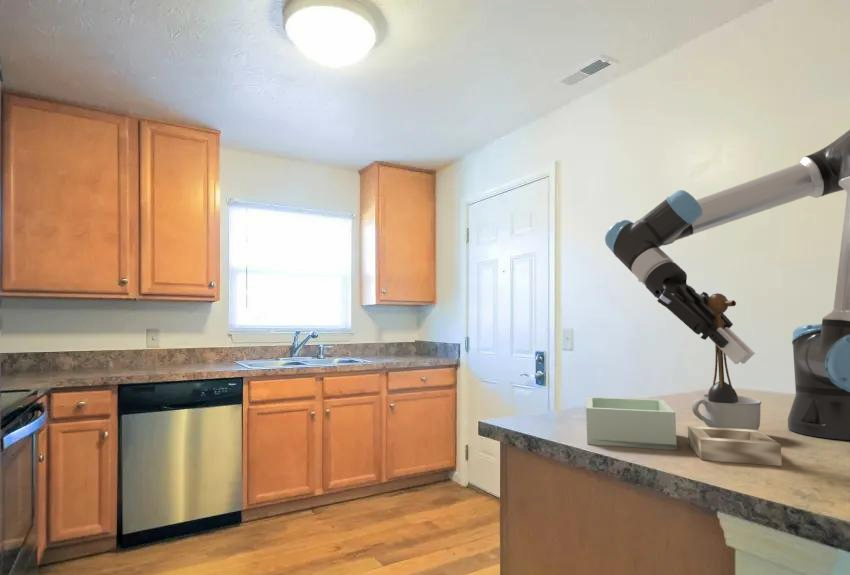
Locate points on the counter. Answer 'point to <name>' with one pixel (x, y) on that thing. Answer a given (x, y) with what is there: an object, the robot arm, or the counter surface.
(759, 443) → the shallow wooden tray
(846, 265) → the robot arm
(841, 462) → the counter surface
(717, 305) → the wooden tabletop sculpture
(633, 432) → the bin
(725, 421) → the teacup
